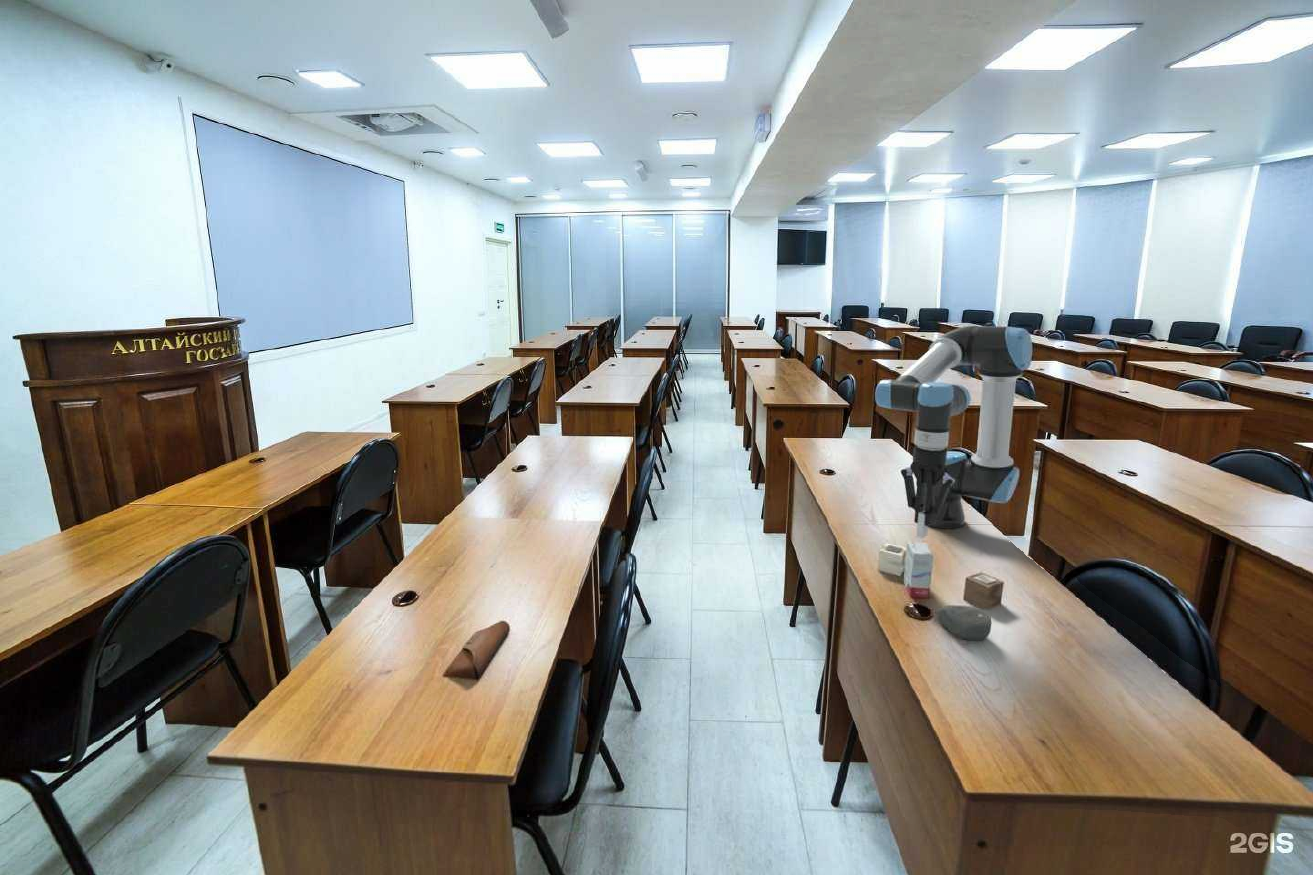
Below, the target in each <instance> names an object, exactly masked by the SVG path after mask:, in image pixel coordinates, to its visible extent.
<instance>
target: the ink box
mask: <svg viewBox="0 0 1313 875" xmlns="http://www.w3.org/2000/svg"><path fill="white" fill-rule="evenodd" d="M906 548H907V550H906V561H905V570H904V571H903V573H904V574H903V583H904V585H905V589H906V590H907V593H908V595H909V597H911V598H922V599H924V598H925V599H929V598H930V593H931V585H932V584H931V582H932V571H933V562H934V555H933V553H932V551H931V550H930V547H929V546H928V544H927V542H919V541H910V540H909V541H907V542H906Z"/></svg>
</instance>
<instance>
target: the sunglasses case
mask: <svg viewBox="0 0 1313 875" xmlns="http://www.w3.org/2000/svg"><path fill="white" fill-rule="evenodd" d="M510 631H511V627H510V625H509V623H508V621H505V620H500V621H498V622H496V623H493V624H492V625H490V626H489V627H486V628H483V629H479V630H478V631H475V632H474V633H473V634H472V635H471V637H470V638H469V639H468V640H467V641H466V642H465V643H464V644H463V646H462V649H461V650H460V651H459V652H458V653H457V654H456V656H455V657H454V659H453V660H451V663H450V664H449V665H448V666H447V667H446V669H445V670H444V673H443V674H442V677H444V678H455V679H464V680H465V679H466V680H473V681H474V680H476V681H478V680H479V679H480V678H481V677H482V675H483V674H484V673H485V670H486V669H487V667H488V666H489V663H491V660H492V658H494V657H493V656H494V655H495V653H496V652H497V651H498V650H499V648H500V647H501V644H503V641H505V639H506V637H507V636H508V634H509V632H510Z"/></svg>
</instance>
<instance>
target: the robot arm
mask: <svg viewBox="0 0 1313 875" xmlns="http://www.w3.org/2000/svg"><path fill="white" fill-rule="evenodd" d="M1032 357H1033V342H1032V337H1031V334H1030V332H1029V331H1028V330H1027V329H1025V328H1022V327H1021V328H1020V327H1014V326H992V325H991V326H987V325H985V326H981V325H967V326H962V327H958V328H955V329H953V330H949V331H948V332H946V333H944V334H941V335H940V336H939V337H937V338H936V339H935V340H934V341H933V342H932V343H931V344H930V346H929V347H928V351H927V352H925V353H924V354H923V355H922V356H921V357H920V358H918V359H917V361H915V362H914V363H913V364H911V366H910V367H909V368H907V369H906V370H905V371H904V372H903V373H902V374H900V376H898V377H897V378H896V379H895V380H894V379H882V380H880V381H879V382H878V383H877V386H876V387H875V394H874V397H875V398H874V399H875V402H876V405H877V406H879V407H882V408H885V409H889V410H899V411H907V412H916V421H915V422H916V423H915V430H914V431H915V433H914V441H913V443H914V446H913V451H912V452H913V453H912V462H911V464H910V466H908V467H906V468H905V467H904V468H903V469H901V470H900V474H901V475H902V477H903V481H904V488H905V489H904V490H905V494H906V501H907V506H908V508H910V509H913V510H914V523H915V524H917V527H916V538H919V539H924V538H926V537H927V536H928V527H932V528H939V529H958V528H959V529H960V528H961V527H963V526H964V525H965V520H966V516H965V512H964V508H963V504H962V496H965V497H968V498H972V499H978V500H982V501H986V502H990V503H998V504H1005V503H1007V502H1009V500H1011V498H1012V496H1013V494H1014V491H1015V490H1016V487H1017V485H1018V480H1019V479H1020V478H1019V477H1020V469H1019V468H1018V467H1017V466H1014V459H1013V458H1012V457H1011V456H1010V455H1009V451H1010V443H1011V434H1012V433H1011V432H1012V426H1013V425H1012V423H1013V422H1012V421H1013V414H1014V413H1013V412H1014V402H1015V394H1016V384H1017V383H1016V382H1017V380H1018V379H1019V378H1020V377H1021V376H1022V375H1023V374H1024V371H1025V370H1026V371H1027V370H1028V369H1029V368H1030V366H1031V363H1032ZM961 365H963V366H973V367H975V366H976V367H977V375H978V376H980V377H981V378H982V385H981V386H982V387H981V398H980V399H981V400H980V410H979V423H978V424H979V425H978V435H977V447H976V452H975V453H974V454H973V455H971V457H970V459H968V458H967V457H968V456H967V454H966V453H964V452H961V451H952V450H950V451H949V450H948V448H947V447H948V445H949V438H950V437H949V436H950V426H951V418H952V417H955V416H957V415H961V414H962V413H963V412H964V411H965V410H967V409H968V407H969V406H970V404H971V401H972V400H971V395H970V392H969V390H968V388H966V387H965V386H963V385H961V384H958V383H957V384H956V383H955V384H954V383H953V384H952V383H947V382H939V381H937V380H938V379H939V378H940V377H941V376H942V375H944V373H946V371H947V370H950V369H953V368H955V367H956V366H961ZM913 476H914V477H915V479H916V484H915V482H914V477H913ZM915 486H916V489H915Z"/></svg>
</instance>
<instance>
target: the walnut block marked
mask: <svg viewBox="0 0 1313 875" xmlns="http://www.w3.org/2000/svg"><path fill="white" fill-rule="evenodd" d="M964 583H965V584H964V590H963V600H964V601H967V602H969V603H971V604H973V605H975V606H977V607H978V608H980V609H982V610H989V609H991V608H994V607H997V606H999V605H1001V604H1002V599H1003V598H1002V597H1003V591H1004V586H1005V581H1003V580H1000V579H998V578H996V577H994V576H991V575H989V574H986V573H984V572H982V571H981V572H978V573H977V572H976V573H975V574H972V575H969V576H967V577H965V581H964Z"/></svg>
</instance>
